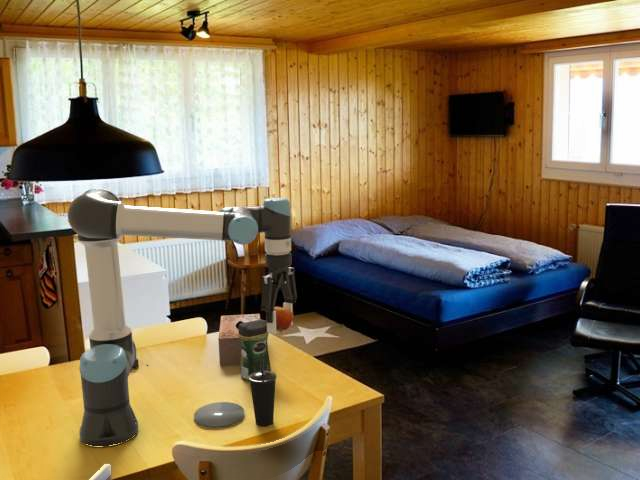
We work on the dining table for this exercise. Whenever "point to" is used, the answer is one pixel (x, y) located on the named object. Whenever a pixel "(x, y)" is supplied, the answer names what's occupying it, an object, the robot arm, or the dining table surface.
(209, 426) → the slate plate
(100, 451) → the dining table surface
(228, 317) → the tissue box cover
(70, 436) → the dining table surface
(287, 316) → the fruit
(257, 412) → the drinking cup
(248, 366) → the coffee jar
